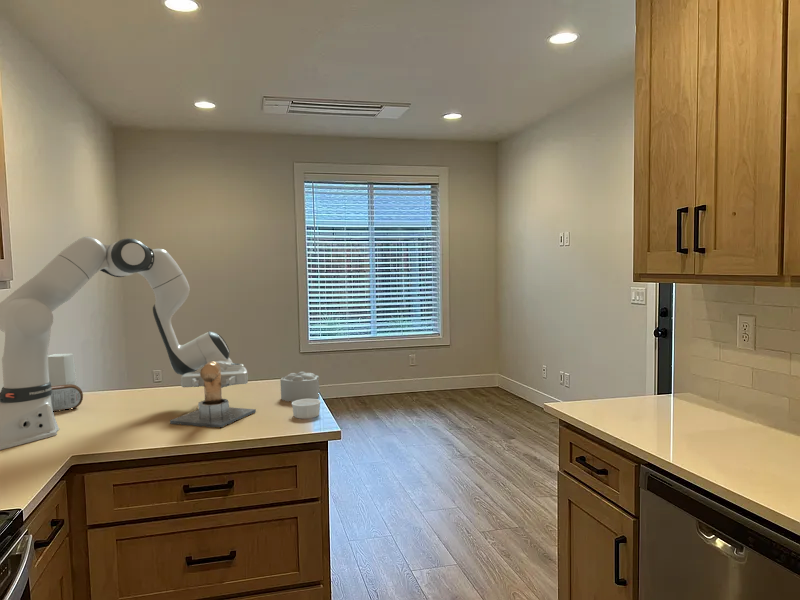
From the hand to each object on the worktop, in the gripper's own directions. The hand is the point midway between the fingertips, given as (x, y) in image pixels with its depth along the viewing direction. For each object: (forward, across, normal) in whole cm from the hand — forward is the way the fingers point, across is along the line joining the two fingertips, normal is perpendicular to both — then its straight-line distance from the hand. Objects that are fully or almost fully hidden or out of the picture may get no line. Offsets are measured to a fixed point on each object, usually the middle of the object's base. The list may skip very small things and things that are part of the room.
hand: (212, 383), depth 179 cm
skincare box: (-47, -59, +11) cm, 76 cm away
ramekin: (+4, +28, +11) cm, 30 cm away
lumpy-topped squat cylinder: (-20, +26, +11) cm, 35 cm away
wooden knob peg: (+1, 0, +10) cm, 10 cm away
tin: (-24, -52, +11) cm, 59 cm away
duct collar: (-1, 0, +11) cm, 11 cm away
